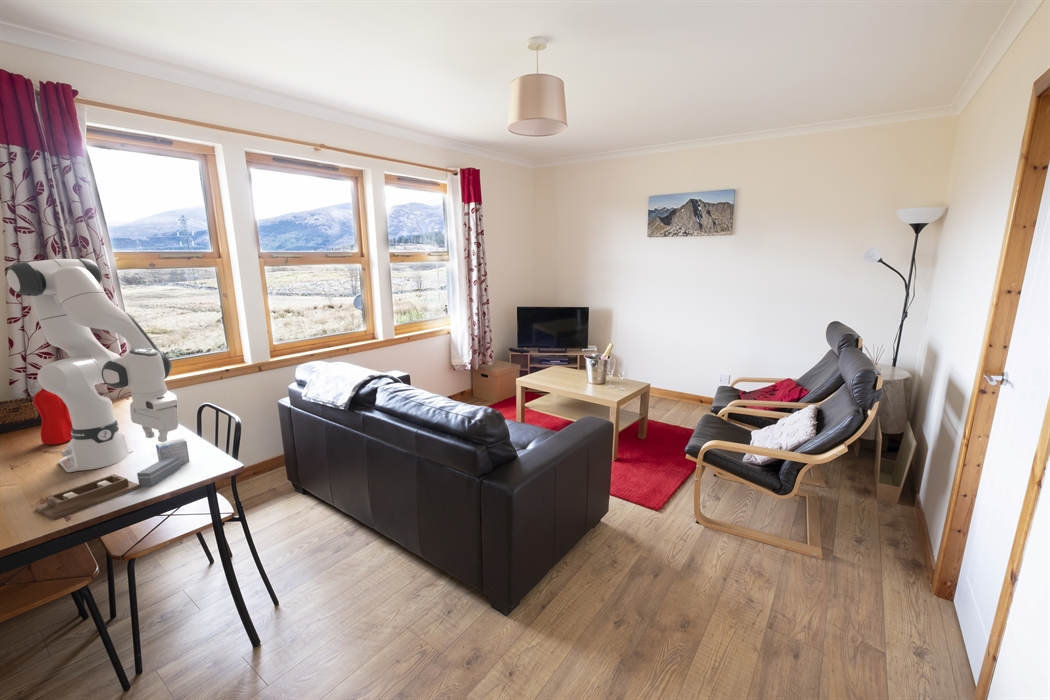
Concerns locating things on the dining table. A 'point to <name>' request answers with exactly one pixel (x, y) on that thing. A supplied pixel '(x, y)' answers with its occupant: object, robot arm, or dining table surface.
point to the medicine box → (173, 450)
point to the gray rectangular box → (158, 471)
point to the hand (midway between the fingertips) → (156, 439)
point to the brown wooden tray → (86, 496)
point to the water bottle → (53, 418)
